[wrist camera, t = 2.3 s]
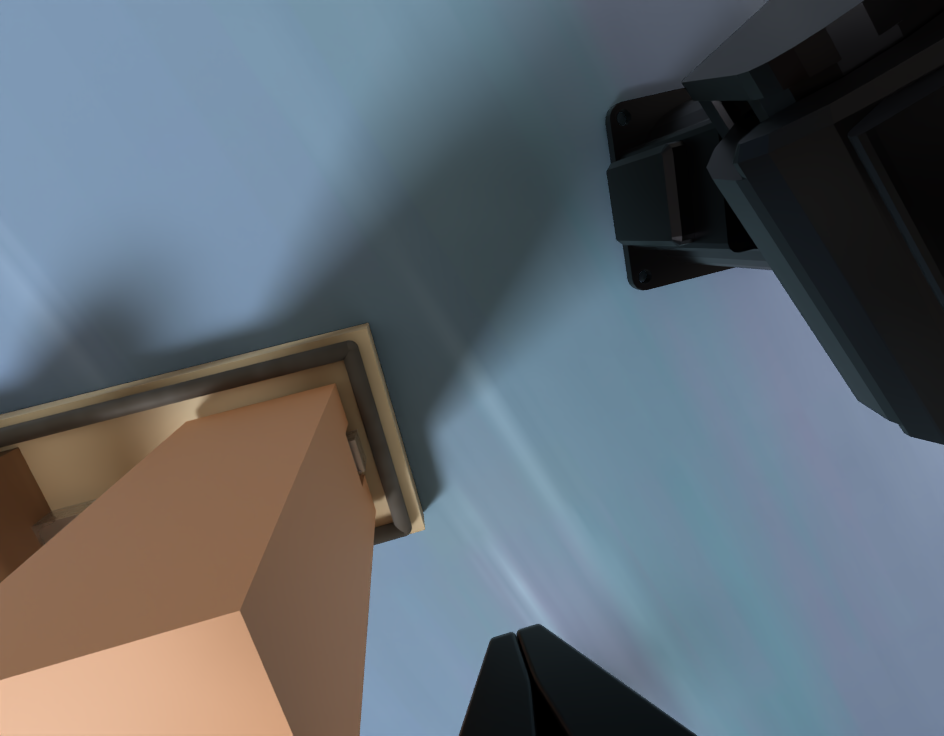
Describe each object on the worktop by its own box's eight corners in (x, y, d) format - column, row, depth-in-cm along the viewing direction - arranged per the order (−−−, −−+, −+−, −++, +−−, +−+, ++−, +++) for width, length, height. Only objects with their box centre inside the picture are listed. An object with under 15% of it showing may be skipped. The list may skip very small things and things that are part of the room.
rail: (357, 429, 18) (355, 439, 17) (366, 459, 18) (365, 471, 17) (51, 510, 17) (31, 526, 16) (67, 540, 18) (47, 558, 17)
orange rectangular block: (335, 382, 17) (239, 610, 7) (376, 510, 19) (349, 867, 8) (186, 421, 17) (-170, 729, 6) (238, 548, 18) (19, 978, 8)
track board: (368, 322, 18) (365, 331, 17) (423, 513, 21) (425, 538, 19) (-100, 439, 17) (-156, 462, 15) (11, 629, 19) (-27, 668, 18)
